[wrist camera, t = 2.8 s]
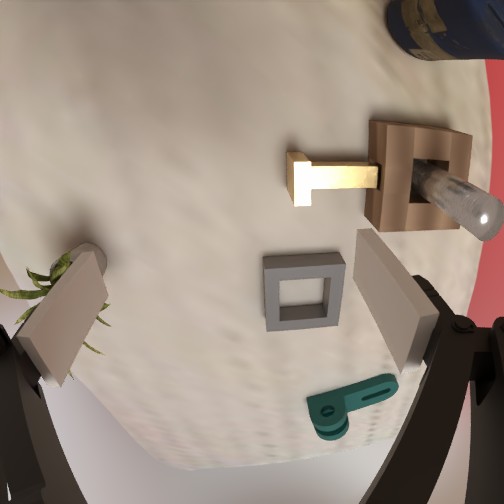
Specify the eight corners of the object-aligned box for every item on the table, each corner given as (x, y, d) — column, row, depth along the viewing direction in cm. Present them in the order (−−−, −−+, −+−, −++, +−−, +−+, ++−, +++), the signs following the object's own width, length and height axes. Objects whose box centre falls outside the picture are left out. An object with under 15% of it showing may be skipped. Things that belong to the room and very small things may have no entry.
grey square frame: (265, 317, 45) (266, 331, 42) (263, 256, 40) (264, 269, 37) (333, 312, 44) (337, 325, 42) (339, 252, 40) (345, 263, 37)
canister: (416, -16, 23) (508, -53, 7) (457, 44, 26) (561, 41, 10) (366, 11, 25) (456, -34, 10) (414, 75, 29) (521, 79, 13)
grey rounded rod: (395, 185, 36) (470, 242, 21) (397, 154, 34) (479, 197, 20) (421, 185, 36) (498, 240, 21) (423, 156, 34) (508, 198, 20)
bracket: (312, 412, 58) (318, 444, 51) (306, 396, 55) (312, 430, 48) (394, 387, 55) (406, 416, 48) (395, 368, 52) (408, 399, 45)
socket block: (364, 215, 37) (379, 232, 33) (369, 120, 32) (387, 124, 27) (440, 214, 37) (459, 228, 33) (449, 129, 32) (472, 135, 27)
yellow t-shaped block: (287, 189, 35) (294, 205, 30) (286, 152, 33) (294, 162, 28) (365, 187, 35) (384, 203, 30) (367, 152, 33) (387, 162, 28)
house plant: (157, 300, 43) (127, 391, 28) (82, 311, 44) (40, 388, 29) (120, 207, 36) (56, 278, 22) (42, 231, 37) (-25, 296, 23)
